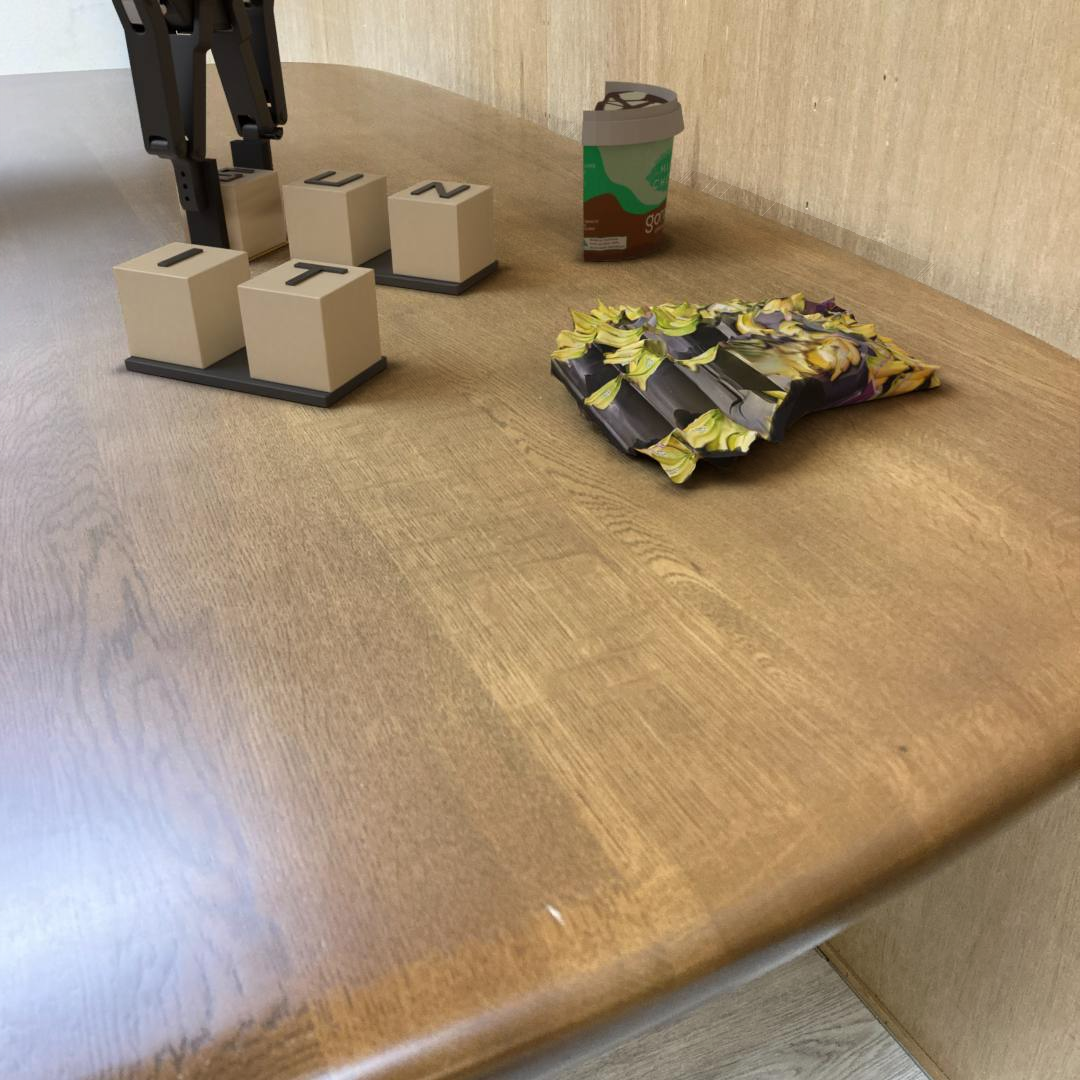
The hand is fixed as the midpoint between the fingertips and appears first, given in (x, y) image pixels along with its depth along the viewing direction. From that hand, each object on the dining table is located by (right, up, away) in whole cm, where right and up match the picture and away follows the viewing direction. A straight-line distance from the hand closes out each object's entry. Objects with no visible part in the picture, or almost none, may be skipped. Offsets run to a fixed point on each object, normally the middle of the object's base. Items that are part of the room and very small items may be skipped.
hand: (237, 243), depth 81 cm
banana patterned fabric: (+33, -14, -23) cm, 42 cm away
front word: (+6, -12, -19) cm, 23 cm away
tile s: (0, 0, 0) cm, 0 cm away
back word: (+7, -2, -3) cm, 8 cm away
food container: (+28, 0, 0) cm, 28 cm away
